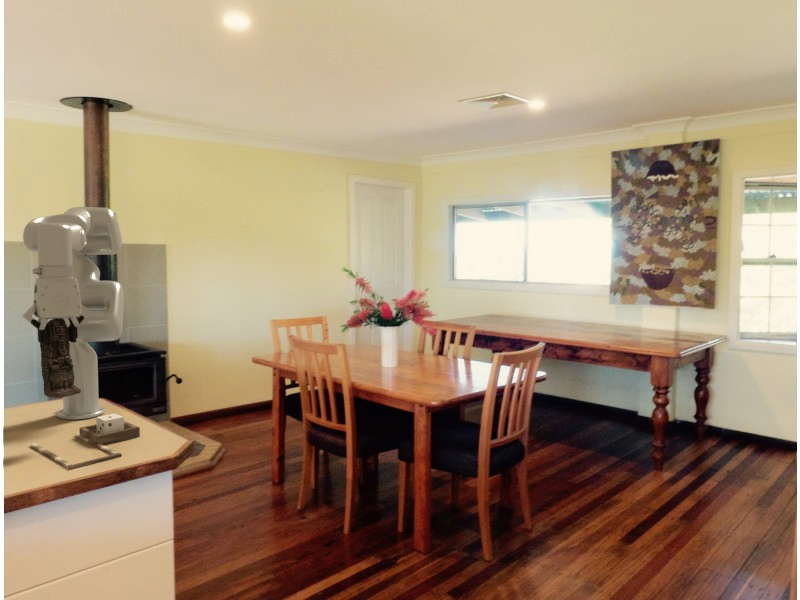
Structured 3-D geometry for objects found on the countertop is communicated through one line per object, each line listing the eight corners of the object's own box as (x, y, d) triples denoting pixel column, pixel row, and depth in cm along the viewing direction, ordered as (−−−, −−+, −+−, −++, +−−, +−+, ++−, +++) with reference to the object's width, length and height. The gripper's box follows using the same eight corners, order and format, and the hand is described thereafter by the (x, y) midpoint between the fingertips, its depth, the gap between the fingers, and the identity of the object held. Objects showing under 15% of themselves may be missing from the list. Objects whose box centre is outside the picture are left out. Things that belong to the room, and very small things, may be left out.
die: (96, 435, 166) (96, 417, 166) (115, 431, 170) (114, 413, 169) (105, 439, 163) (104, 420, 162) (124, 435, 167) (123, 416, 166)
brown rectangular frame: (30, 445, 158) (30, 443, 158) (79, 435, 168) (79, 433, 168) (70, 469, 143) (70, 466, 143) (121, 456, 152) (121, 453, 152)
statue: (59, 399, 155) (58, 319, 154) (38, 396, 158) (37, 317, 156) (81, 393, 162) (81, 317, 160) (61, 390, 164) (60, 315, 163)
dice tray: (79, 436, 166) (79, 427, 166) (120, 428, 175) (120, 419, 174) (98, 446, 159) (98, 436, 159) (139, 436, 168) (139, 427, 167)
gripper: (23, 274, 147) (26, 349, 149) (97, 272, 161) (99, 341, 162) (12, 273, 152) (15, 345, 154) (84, 271, 165) (86, 337, 167)
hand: (58, 342), depth 158 cm, fingers closed on statue, 6 cm apart
